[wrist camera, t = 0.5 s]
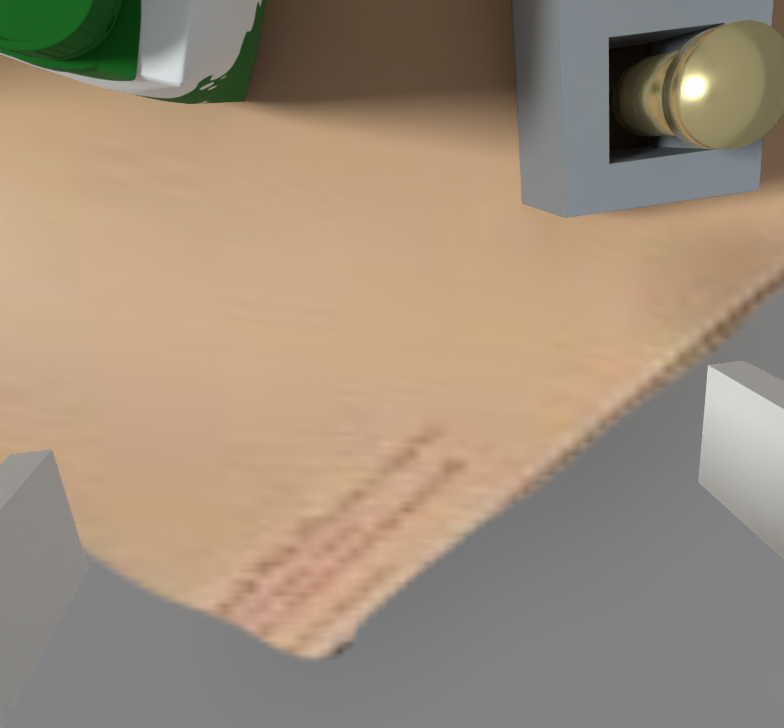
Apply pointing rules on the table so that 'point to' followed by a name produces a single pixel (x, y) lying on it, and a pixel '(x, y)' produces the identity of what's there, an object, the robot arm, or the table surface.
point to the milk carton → (140, 44)
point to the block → (591, 106)
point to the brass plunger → (707, 88)
